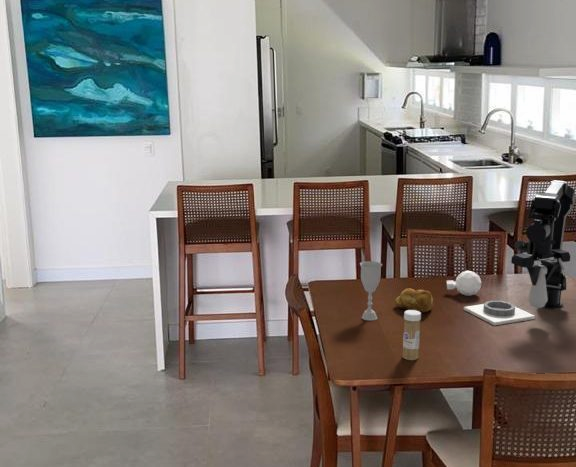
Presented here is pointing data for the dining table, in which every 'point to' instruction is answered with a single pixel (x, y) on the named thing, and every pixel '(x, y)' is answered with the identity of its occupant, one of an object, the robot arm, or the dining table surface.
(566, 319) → the dining table surface
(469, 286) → the perfume bottle
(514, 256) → the robot arm
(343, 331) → the dining table surface
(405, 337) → the sprinkles bottle
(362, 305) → the dining table surface
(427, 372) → the dining table surface
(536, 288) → the salt shaker
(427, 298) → the bread roll
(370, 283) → the chalice
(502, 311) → the ring holder
